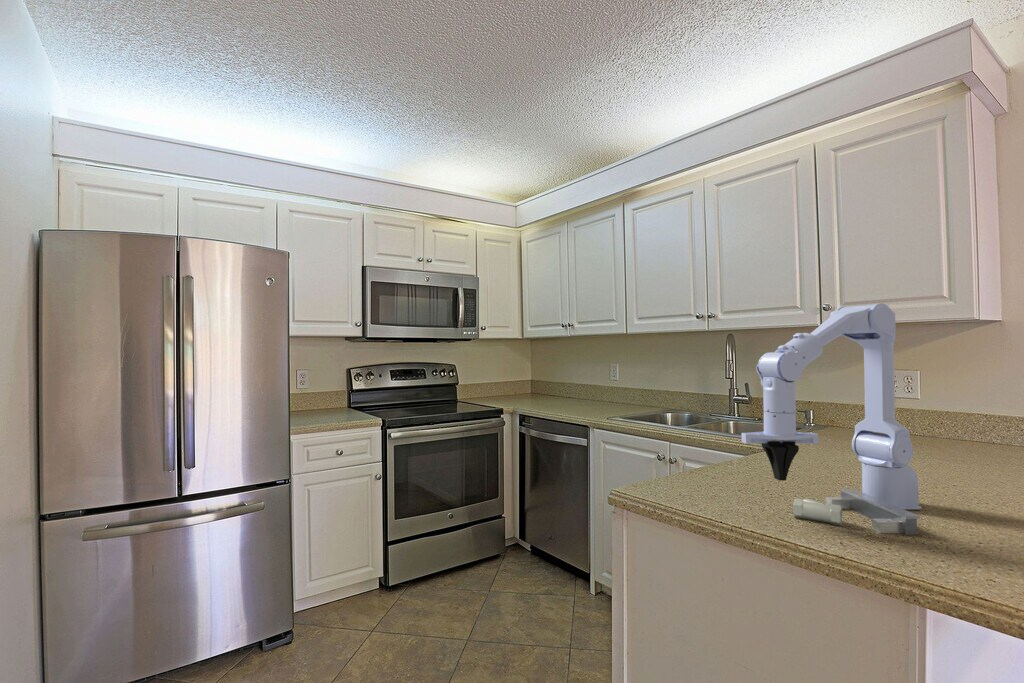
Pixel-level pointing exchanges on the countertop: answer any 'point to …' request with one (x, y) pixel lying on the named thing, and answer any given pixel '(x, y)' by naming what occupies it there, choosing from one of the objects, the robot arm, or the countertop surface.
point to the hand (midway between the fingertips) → (780, 479)
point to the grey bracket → (877, 512)
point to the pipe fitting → (817, 511)
